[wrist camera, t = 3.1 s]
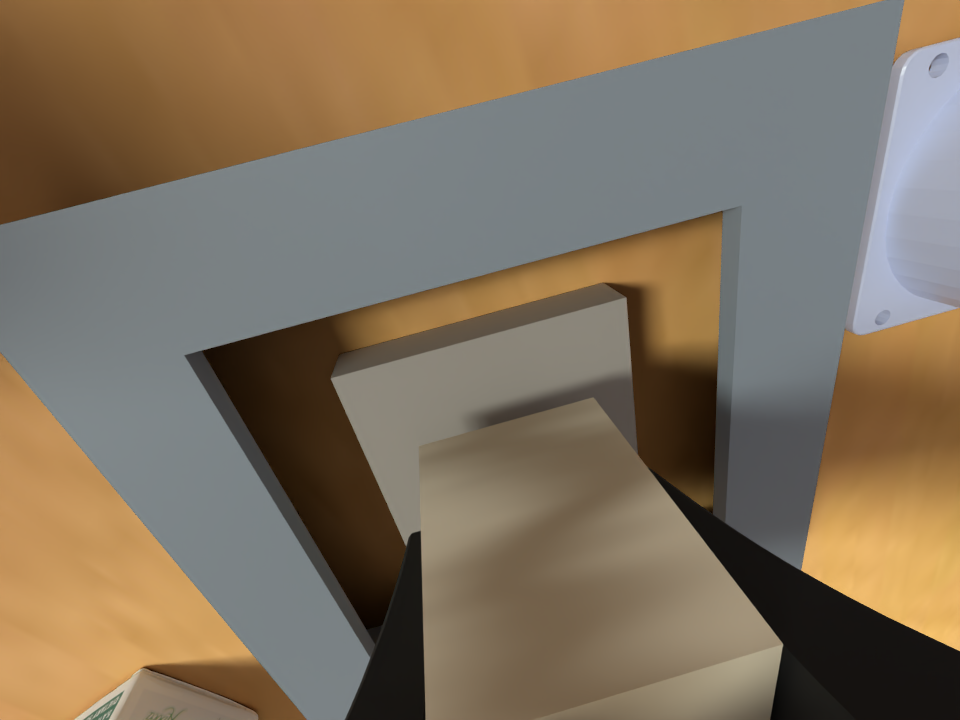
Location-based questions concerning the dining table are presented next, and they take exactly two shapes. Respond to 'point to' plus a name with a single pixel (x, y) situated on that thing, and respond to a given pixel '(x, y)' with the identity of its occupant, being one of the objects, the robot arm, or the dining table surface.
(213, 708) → the syrup box
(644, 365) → the dining table surface
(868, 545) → the dining table surface
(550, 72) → the dining table surface
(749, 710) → the maple block
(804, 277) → the box
